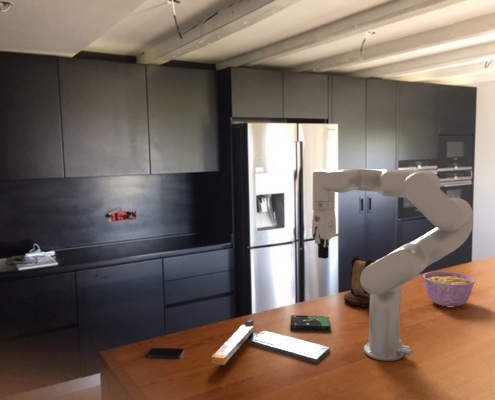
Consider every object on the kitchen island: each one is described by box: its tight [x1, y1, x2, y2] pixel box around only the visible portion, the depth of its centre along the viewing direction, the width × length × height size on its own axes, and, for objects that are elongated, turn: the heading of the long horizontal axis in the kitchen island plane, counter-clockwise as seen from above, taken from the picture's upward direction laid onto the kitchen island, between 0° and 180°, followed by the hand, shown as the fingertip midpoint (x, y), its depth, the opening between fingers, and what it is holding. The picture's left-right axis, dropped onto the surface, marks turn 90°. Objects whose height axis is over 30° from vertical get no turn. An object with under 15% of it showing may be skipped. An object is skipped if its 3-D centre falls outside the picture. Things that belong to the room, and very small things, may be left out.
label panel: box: [245, 330, 331, 364], centre depth 160 cm, size 32×10×2 cm, turn 55°
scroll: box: [343, 255, 373, 309], centre depth 201 cm, size 15×15×20 cm
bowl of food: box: [422, 271, 475, 307], centre depth 198 cm, size 20×20×12 cm
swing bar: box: [211, 319, 255, 366], centre depth 155 cm, size 30×4×5 cm, turn 160°
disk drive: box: [289, 314, 332, 333], centre depth 178 cm, size 10×3×15 cm
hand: (323, 257), depth 163 cm, fingers closed
